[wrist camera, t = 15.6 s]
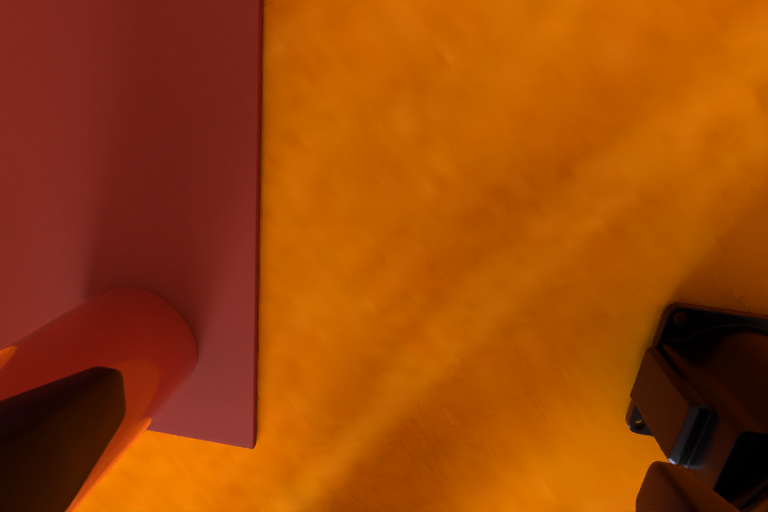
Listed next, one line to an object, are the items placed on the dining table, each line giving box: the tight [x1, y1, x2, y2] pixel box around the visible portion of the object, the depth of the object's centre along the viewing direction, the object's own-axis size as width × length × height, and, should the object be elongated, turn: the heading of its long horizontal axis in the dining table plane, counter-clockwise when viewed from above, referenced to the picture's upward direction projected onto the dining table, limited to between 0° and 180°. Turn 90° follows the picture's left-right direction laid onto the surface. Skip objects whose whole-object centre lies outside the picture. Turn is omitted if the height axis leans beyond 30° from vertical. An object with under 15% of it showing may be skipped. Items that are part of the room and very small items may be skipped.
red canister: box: [0, 286, 197, 512], centre depth 18 cm, size 7×7×13 cm
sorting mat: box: [0, 0, 263, 449], centre depth 19 cm, size 14×38×1 cm, turn 174°
